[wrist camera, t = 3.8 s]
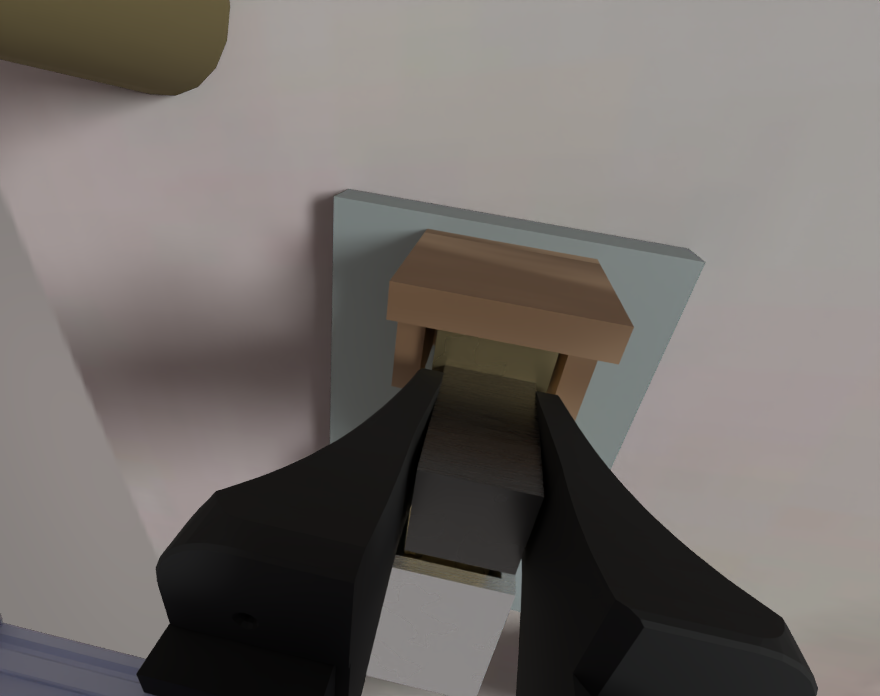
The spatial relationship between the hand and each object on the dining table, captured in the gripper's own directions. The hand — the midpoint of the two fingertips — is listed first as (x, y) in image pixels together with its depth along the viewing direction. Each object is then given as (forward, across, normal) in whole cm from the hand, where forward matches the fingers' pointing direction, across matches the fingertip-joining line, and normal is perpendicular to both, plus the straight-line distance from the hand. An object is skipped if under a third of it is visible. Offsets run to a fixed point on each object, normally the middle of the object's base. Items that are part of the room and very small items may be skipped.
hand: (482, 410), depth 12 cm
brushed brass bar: (+4, 0, +4) cm, 6 cm away
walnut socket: (+4, 0, -2) cm, 5 cm away
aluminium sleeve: (+4, 0, +11) cm, 12 cm away
